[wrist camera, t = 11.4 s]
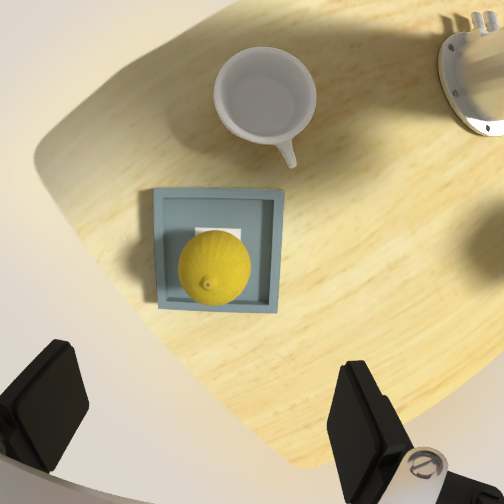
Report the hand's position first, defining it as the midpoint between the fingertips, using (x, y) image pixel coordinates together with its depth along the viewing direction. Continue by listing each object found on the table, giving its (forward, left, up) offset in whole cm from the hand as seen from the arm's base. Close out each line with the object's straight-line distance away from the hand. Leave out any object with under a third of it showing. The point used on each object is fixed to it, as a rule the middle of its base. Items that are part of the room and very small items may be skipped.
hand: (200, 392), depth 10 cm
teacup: (-12, +3, -21) cm, 24 cm away
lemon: (0, -1, -19) cm, 19 cm away
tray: (0, -1, -20) cm, 20 cm away
